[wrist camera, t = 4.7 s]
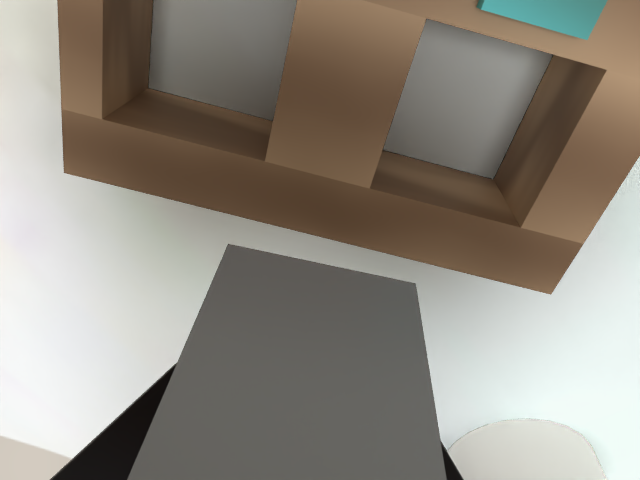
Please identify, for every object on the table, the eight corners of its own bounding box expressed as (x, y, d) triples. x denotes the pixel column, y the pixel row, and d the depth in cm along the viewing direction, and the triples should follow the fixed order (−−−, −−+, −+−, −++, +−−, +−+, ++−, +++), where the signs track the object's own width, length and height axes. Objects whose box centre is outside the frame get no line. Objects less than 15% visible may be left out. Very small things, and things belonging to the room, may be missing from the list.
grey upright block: (367, 405, 12) (373, 836, 6) (211, 375, 12) (70, 791, 6) (415, 283, 10) (491, 763, 4) (227, 243, 10) (36, 690, 4)
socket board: (520, 238, 21) (556, 304, 17) (113, 134, 20) (54, 180, 16) (694, -77, 15) (811, -85, 11) (122, -255, 14) (29, -333, 10)
